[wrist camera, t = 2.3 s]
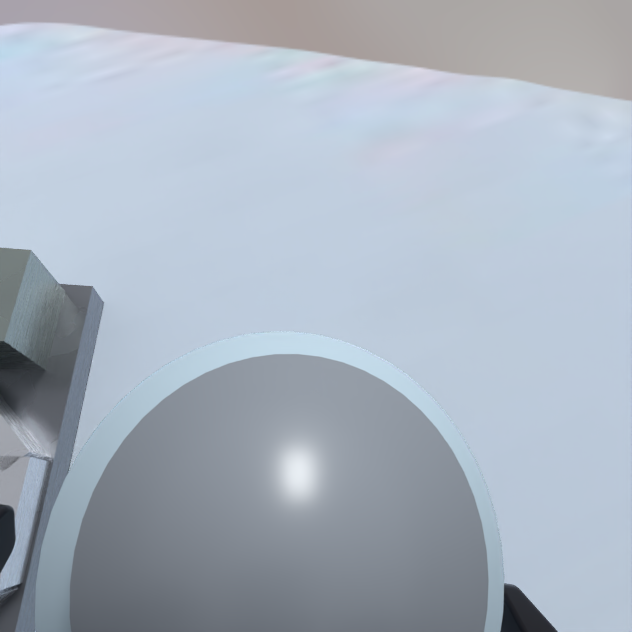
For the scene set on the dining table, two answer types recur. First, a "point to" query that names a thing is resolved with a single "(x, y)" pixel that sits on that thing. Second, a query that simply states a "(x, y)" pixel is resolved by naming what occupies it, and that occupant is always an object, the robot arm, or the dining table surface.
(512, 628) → the robot arm
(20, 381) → the motor mount
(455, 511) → the grey capped canister
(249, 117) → the dining table surface
